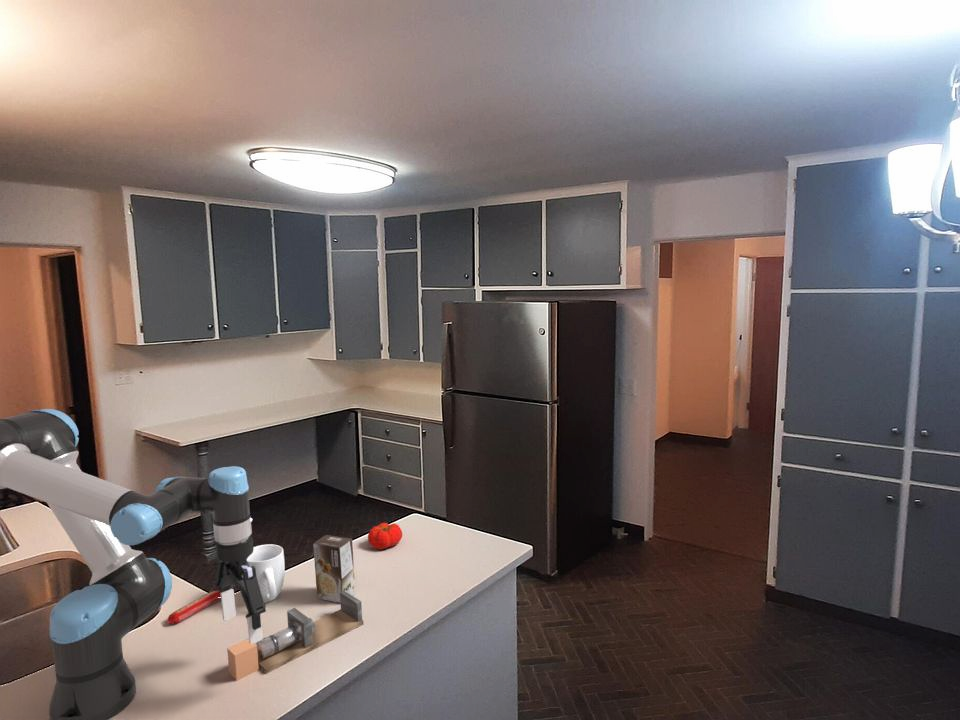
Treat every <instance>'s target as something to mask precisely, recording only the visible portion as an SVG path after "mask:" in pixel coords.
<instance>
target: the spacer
mask: <svg viewBox="0 0 960 720" xmlns="http://www.w3.org/2000/svg"><path fill="white" fill-rule="evenodd" d="M226 649H227V660H228V661H227V662H228V673H229V674H230V675H231V677H232V678H234V680H235V681H236V682H239V680H241V679H243V678H244V679H245V677H248V676H251V675H252V674H253V673H255V672H258V671H259V670H260V667H259V666H258V652H257V645H256V642H255V643H253V644H250V643H249V637H248V638H247V639H245V640H242V641H240V642H238V643H236V644H233V645H231V646H229V647H227V648H226Z"/></svg>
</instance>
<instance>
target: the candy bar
mask: <svg viewBox="0 0 960 720" xmlns="http://www.w3.org/2000/svg"><path fill="white" fill-rule="evenodd" d="M220 593H221V592H220V591H219V590H213V591H210V592H208V593H206V594H204V595H202V596H200V597H199V598H197V599H195V600H193V601H191V602H189V603H187V604H186V605H184V606H182V607H181V608H178V609H177V610H175V611H173V612H172V613H170V614H169V615H168V617H167V620H166V622H165V623H168V624H179V623H180V622H183V621H184V620H186V619H188V618H190V617H191V616H193V615H196V614H197V613H199V612H201V611H202V610H203V609H205V608H207V607H209V606H211V605H213V604H214V603H216V602H217V601H219V600H221V598H218V597H221V594H220Z"/></svg>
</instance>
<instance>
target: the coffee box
mask: <svg viewBox="0 0 960 720" xmlns="http://www.w3.org/2000/svg"><path fill="white" fill-rule="evenodd" d="M312 545H313V558H314V559H313V560H314V561H313V562H314V570H315V573H314V574H315V585H316V586H315V587H316V599H320V600H325V601H329V602H335V603H340V592H342V591H345V592H347V593H349V594H350V595H352V596H353V597H354V595H355V594H356V581H355V579H356V578H355V565H354V550H353V539H352V538H349V537H344V536H343V537H341V536H337V535H329V534H325V535H323V536H321V538H319V539H318V540H317V541H315V542H313V544H312Z"/></svg>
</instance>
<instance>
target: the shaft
mask: <svg viewBox="0 0 960 720" xmlns="http://www.w3.org/2000/svg"><path fill="white" fill-rule="evenodd" d="M308 618H309V619H311V621H312V635H314V634H315V631H316V629H315V624H314V620H313V619H312V617H308ZM301 640H302V637H301V626H300V625H299V624H298V623H297V624H295V625H292V626H290V627H288V626H287V627H286V628H284V629H282V630H280V631H277V632H275V633H273V634H270V635H268V636H266V637H263V639H262V640H260V641H258V642H255V644H256V645H257V652H258V655H259V657H260V658H261V659H264V658H266V657H268V656H270V655H272V654H275V653H277V652H279V651H281V650H283V649H285V648H287V647H289V646H291V645H293V644H295V643H297V642H299V641H301Z"/></svg>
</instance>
